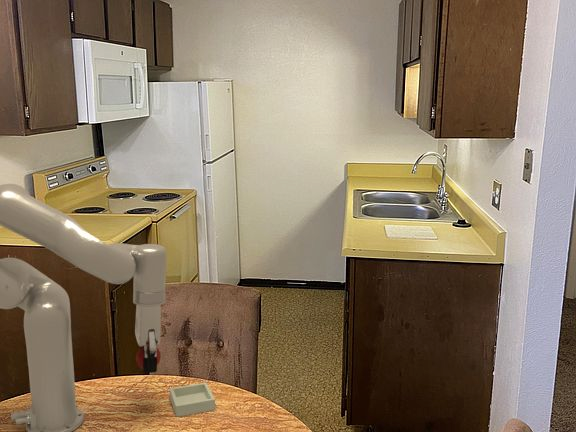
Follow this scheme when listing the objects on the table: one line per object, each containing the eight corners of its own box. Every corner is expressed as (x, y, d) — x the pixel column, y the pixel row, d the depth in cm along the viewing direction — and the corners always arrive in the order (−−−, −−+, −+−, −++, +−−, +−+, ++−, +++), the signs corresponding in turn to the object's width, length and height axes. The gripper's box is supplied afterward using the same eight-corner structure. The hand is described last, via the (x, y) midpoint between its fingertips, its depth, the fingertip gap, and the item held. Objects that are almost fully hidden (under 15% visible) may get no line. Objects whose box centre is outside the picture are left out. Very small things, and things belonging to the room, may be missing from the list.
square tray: (176, 417, 137) (176, 406, 136) (169, 398, 145) (169, 388, 145) (215, 409, 140) (215, 399, 139) (206, 392, 149) (206, 382, 148)
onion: (146, 378, 135) (146, 347, 134) (130, 371, 138) (131, 340, 137) (165, 371, 140) (165, 340, 138) (149, 364, 143) (150, 334, 142)
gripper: (129, 286, 143) (128, 354, 145) (137, 308, 127) (136, 383, 130) (159, 285, 145) (158, 351, 148) (171, 306, 130) (169, 380, 132)
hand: (148, 365), depth 139 cm, fingers closed on onion, 5 cm apart
